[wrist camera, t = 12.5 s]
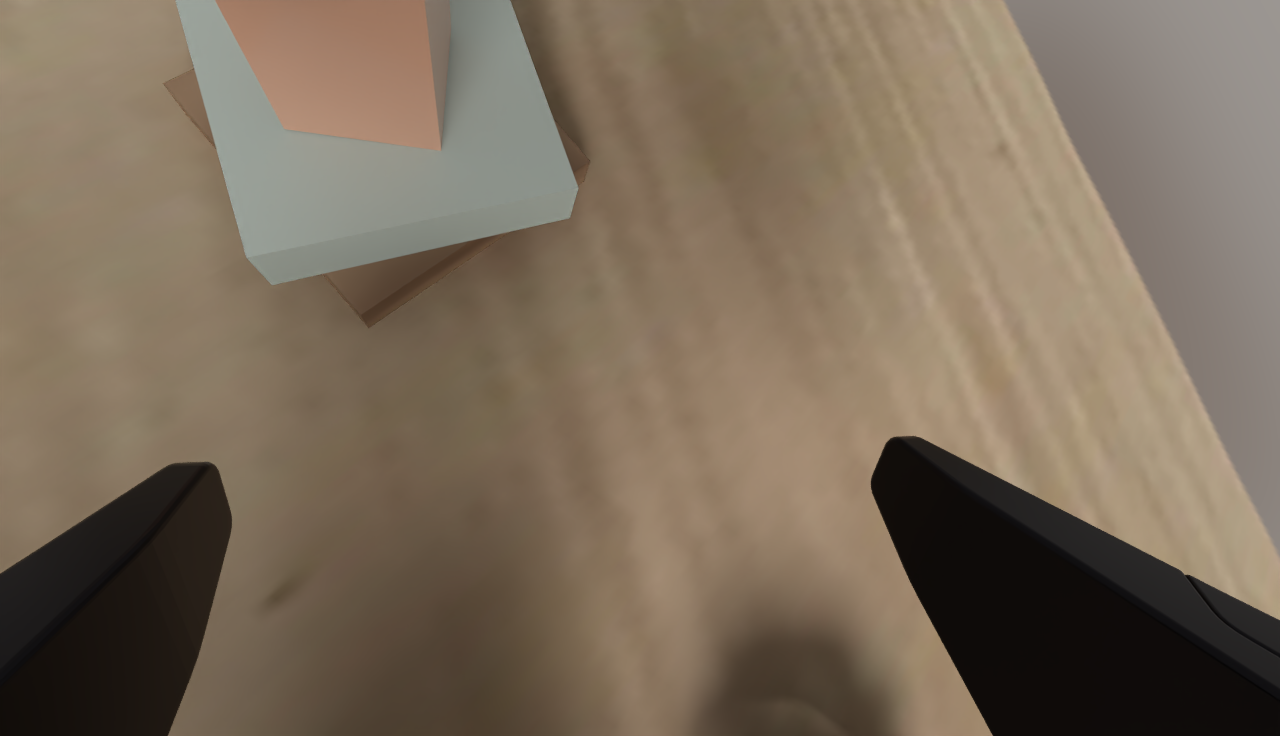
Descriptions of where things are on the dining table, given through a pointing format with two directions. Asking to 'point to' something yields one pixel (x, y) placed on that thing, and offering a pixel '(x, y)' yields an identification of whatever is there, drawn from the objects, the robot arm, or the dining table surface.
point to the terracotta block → (350, 65)
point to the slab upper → (385, 156)
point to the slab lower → (387, 280)
